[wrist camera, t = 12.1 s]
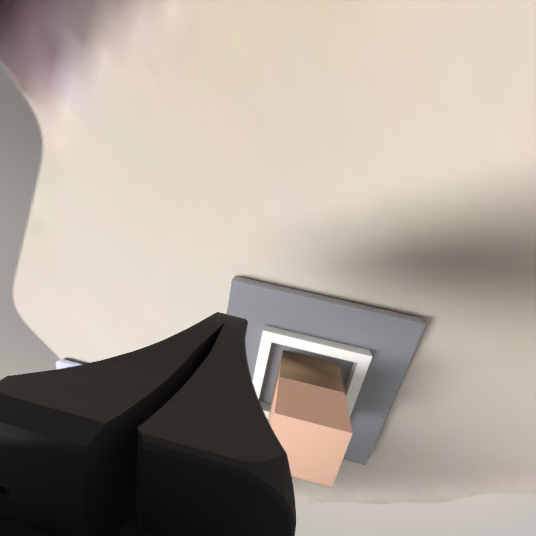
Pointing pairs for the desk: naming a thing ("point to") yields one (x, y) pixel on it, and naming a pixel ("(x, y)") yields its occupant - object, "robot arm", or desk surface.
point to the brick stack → (311, 416)
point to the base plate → (328, 348)
